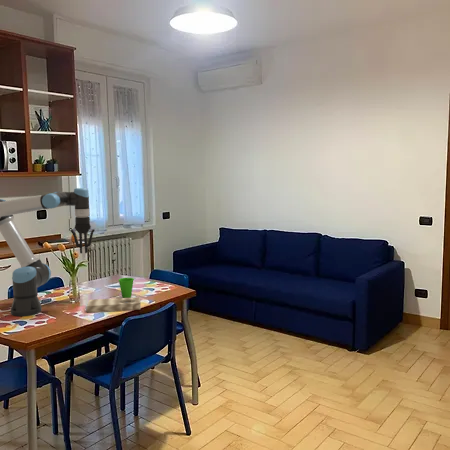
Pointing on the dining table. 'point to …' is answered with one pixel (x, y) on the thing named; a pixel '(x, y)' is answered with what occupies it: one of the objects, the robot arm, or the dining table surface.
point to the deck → (114, 304)
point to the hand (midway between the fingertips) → (84, 259)
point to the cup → (126, 287)
